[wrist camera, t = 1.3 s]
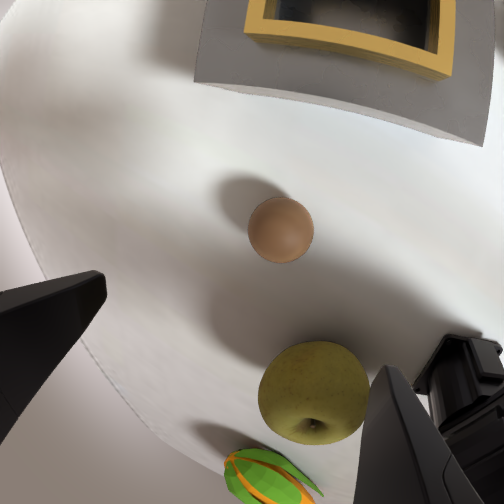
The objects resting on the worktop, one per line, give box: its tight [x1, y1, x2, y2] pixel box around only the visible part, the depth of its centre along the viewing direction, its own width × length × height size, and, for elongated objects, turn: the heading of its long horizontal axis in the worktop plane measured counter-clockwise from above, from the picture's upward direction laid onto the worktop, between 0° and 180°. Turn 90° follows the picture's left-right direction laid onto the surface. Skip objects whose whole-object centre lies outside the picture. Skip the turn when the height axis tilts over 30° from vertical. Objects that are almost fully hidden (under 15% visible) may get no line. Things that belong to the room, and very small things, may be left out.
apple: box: [258, 341, 370, 445], centre depth 20 cm, size 8×8×7 cm
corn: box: [224, 448, 324, 504], centre depth 30 cm, size 7×8×20 cm
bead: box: [248, 197, 314, 263], centre depth 18 cm, size 4×4×4 cm
